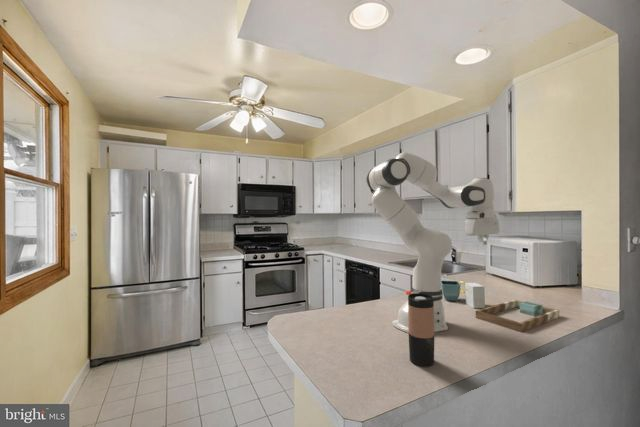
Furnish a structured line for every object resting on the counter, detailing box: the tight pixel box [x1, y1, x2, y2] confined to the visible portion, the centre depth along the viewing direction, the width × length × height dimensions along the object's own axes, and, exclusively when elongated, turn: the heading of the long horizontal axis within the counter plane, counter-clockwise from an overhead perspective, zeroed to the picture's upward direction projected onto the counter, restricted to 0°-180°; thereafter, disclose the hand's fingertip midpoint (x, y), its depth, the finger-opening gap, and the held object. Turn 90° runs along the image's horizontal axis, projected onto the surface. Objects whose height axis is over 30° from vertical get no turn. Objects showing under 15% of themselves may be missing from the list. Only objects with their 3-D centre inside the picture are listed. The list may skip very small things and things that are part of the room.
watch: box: [459, 280, 466, 293], centre depth 168 cm, size 6×3×6 cm, turn 20°
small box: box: [464, 282, 486, 309], centre depth 142 cm, size 8×6×10 cm
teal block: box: [519, 300, 543, 318], centre depth 131 cm, size 6×6×4 cm
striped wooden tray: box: [475, 299, 560, 333], centre depth 126 cm, size 31×18×3 cm, turn 119°
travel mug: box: [407, 293, 435, 368], centre depth 90 cm, size 8×8×20 cm
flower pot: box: [441, 280, 461, 302], centre depth 153 cm, size 9×9×9 cm
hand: (483, 244), depth 131 cm, fingers closed
